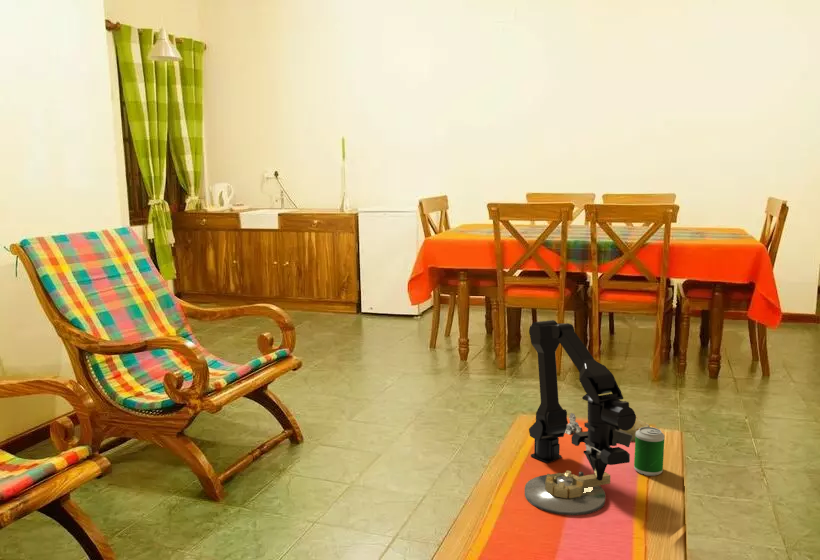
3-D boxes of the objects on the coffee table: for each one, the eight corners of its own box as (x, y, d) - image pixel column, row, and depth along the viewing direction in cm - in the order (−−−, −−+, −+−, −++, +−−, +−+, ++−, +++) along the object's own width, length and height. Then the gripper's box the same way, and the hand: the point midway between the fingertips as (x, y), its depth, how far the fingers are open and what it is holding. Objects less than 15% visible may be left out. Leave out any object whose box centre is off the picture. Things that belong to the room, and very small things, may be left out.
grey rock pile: (578, 447, 212) (579, 422, 210) (555, 439, 218) (556, 415, 217) (596, 439, 217) (597, 416, 216) (573, 432, 224) (574, 408, 223)
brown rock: (602, 433, 222) (603, 409, 221) (637, 430, 225) (638, 406, 223) (625, 450, 208) (626, 424, 207) (663, 446, 211) (664, 421, 210)
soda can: (664, 479, 188) (666, 436, 187) (635, 477, 190) (637, 434, 188) (660, 468, 196) (662, 426, 194) (632, 465, 197) (634, 424, 195)
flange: (508, 494, 180) (508, 477, 179) (557, 472, 193) (558, 457, 192) (572, 523, 165) (573, 505, 164) (621, 498, 178) (622, 481, 177)
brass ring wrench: (558, 500, 173) (559, 488, 172) (539, 485, 181) (539, 473, 181) (618, 489, 179) (619, 477, 178) (597, 474, 187) (597, 463, 187)
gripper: (648, 426, 172) (648, 488, 173) (607, 408, 190) (607, 464, 191) (608, 431, 169) (608, 494, 170) (570, 412, 187) (570, 469, 188)
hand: (599, 479), depth 180 cm, fingers closed, pressing on brass ring wrench
